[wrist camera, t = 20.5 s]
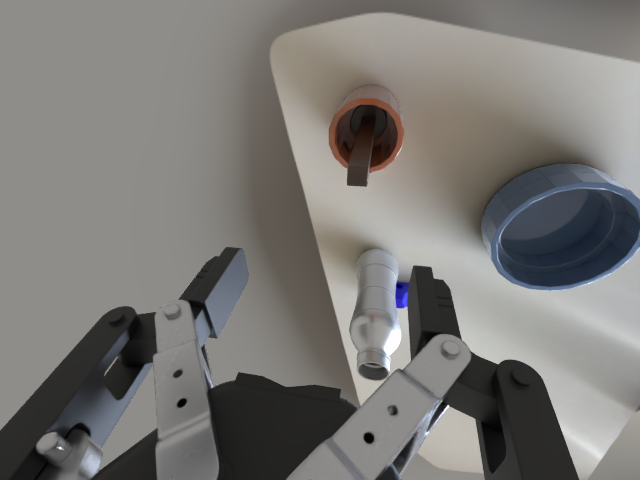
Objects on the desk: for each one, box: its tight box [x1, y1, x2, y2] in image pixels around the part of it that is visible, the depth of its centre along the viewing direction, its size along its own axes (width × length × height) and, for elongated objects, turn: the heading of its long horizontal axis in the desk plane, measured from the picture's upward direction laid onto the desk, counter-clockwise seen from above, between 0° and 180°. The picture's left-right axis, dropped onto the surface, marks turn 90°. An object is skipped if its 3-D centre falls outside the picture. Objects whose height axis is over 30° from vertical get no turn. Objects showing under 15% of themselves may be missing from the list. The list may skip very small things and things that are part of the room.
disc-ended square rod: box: [347, 105, 387, 187], centre depth 31 cm, size 4×4×17 cm
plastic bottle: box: [349, 249, 401, 381], centre depth 42 cm, size 6×7×20 cm
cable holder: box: [395, 282, 410, 308], centre depth 51 cm, size 8×4×4 cm, turn 94°
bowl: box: [481, 163, 640, 291], centre depth 39 cm, size 15×15×6 cm
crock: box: [329, 85, 404, 173], centre depth 35 cm, size 8×8×8 cm
